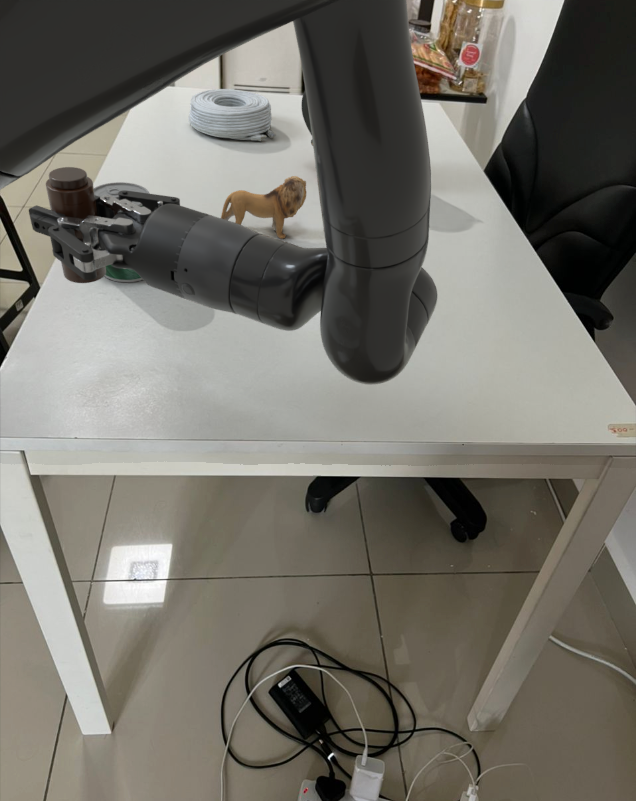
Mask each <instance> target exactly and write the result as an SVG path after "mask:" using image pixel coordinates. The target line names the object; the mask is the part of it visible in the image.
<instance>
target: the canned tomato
mask: <svg viewBox="0 0 636 801" xmlns="http://www.w3.org/2000/svg"><path fill="white" fill-rule="evenodd" d="M123 190H126V191H134V192H141V193H148V194H151V193H150V191H149V190H148V189H147V188H146V187H145V186H142V185H139V184H136V183H133V182H132V183H131V182H124V181H123V182H122V181H121V182H118V181H117V182H109V183H104V184H100V185H98V186H95V187H94V193H95V195H96V196H99V197H101V196H103V195H111V196H113V197H115V198H116V197H119V195H118V192H120V191H123ZM132 203H134V204H136V205H138V206H139V207H143V205H142V204H141V203H140V202H133V201H132ZM104 278H106V279H108V280H111V281H114V282H118V283H135V282H136V283H137V282H140V281H144V280H143V279H142V278H141V277H140V276H139V275H138V274H137V273H136V272H135V271H134V270H132V269H125V268H116V267H113V266H112V265H107V266H106V274H105V276H104Z"/></svg>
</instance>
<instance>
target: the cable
mask: <svg viewBox="0 0 636 801" xmlns="http://www.w3.org/2000/svg"><path fill="white" fill-rule="evenodd" d="M189 104H190V106H189V108H190V109H189V113H188V114H189V115H188V119H187V120H188V122H189V124H190V125H191V127H192V128H193V129H194V130H197V131H198V132H200V133H202V134H205V135H208V136H211V137H216V138H223V139H231V140H238V141H258V142H261V143H262V140H264V139H267V138H268V137H269V139H273V138H275V136H276V134H275V133H274V132H273V131H272V130H270V129H271V124H272V119H273V118H272V105H271V103H270V101H269V99H268V98H267V97H265V96H264V95H262V94H259V93H256V92H251V91H247V90H241V89H233V88H217V89H216V88H215V89H207V90H203V91H201V92H197V93H195V94H194V95H192V96H191V98H190V103H189ZM264 133H265V134H264Z"/></svg>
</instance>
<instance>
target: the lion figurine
mask: <svg viewBox="0 0 636 801" xmlns="http://www.w3.org/2000/svg"><path fill="white" fill-rule="evenodd" d="M306 186H307V181H306V180H304V179H303V178H301V177H299V176H297V175H292V176H289V177H287V178H284V181H283V183H282V184H279V185H278V186H277V187H275V188H274V189H273V190H271V191H270V192H268V193H265V194H259V193H253V192H250V191H248V190H242V189H241V190H236V191H233V192H231V193H230V194H229V195H228V196H227V197H226V199H225V200H224V203H223V207H222V211H221V215H220V218H221V219H225V220H228V221H230V218H233V217H234V218H235V222H234V223H237V224H240V225H242V224H243V221H244V219H245V216H246V212H247V213H249V214H250V215H252V216H254V217H255V218H259V219H272V223H271V227H272V229H273V231H275V233H276V236H277V238H279V239H280V240H282V239H285V238H286V233H285V232H283V229H284V225H285V220H286V219H288V218H294V216H296V214H297V212H298V210H300V209H301V208H302V206H303V205H304V204H305V201H306V199H307V187H306ZM229 205H230V206H229Z"/></svg>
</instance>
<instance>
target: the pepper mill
mask: <svg viewBox="0 0 636 801" xmlns="http://www.w3.org/2000/svg"><path fill="white" fill-rule="evenodd" d="M45 188H46V194H47V199H48V203H49V208H50V209H49V210H52V211H55V212H57V213H61V214H64V215H65V216H67V217H73V218H79V219H85V218H86V217H87V216H89V215H92V216H98V213H97V207H96V200H95V193H94V188H95V187H94V182H93V179H92V178H91V177H89V176H88V173H87V171H86V170H84V169H82V168H79V167H75V166H65V167H60V168H55V169H52V170H51V171H50V172H49V173H48V179H47V180H46V182H45ZM74 232H75V237H76V238H81V239H83V235H82V232H81V231H80V230H75V229H74ZM96 232H97V238H98V229H97V228H96ZM98 243H99V240H98ZM60 262H61V261H60ZM61 269H62V272H63V277H64V278H65V279H66V280H67V281H68V282H72V283H76V284H90V283H95V282H97V281H100V280H101V279H103V278H105V274H106V266H105V267H102V268H99V269H96V273H97V277H96V278H95V279H93V280H84V279H83V278H81V277H80V276H79V275H78V274H76V273H75V272H74V271H73V270H71V269H70V268H69V267H67V266H66V265H65V264H64V263H62V262H61Z"/></svg>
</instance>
